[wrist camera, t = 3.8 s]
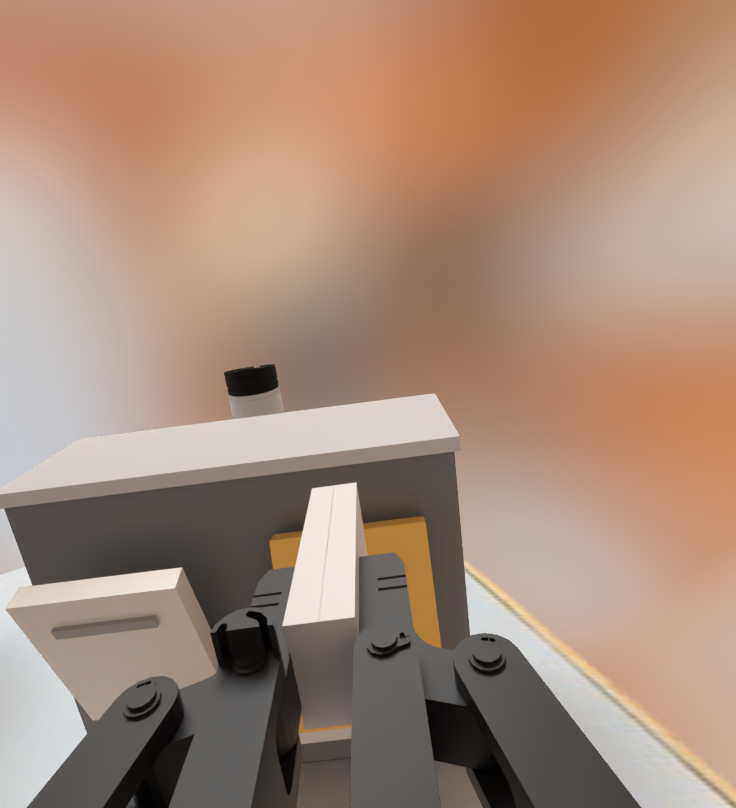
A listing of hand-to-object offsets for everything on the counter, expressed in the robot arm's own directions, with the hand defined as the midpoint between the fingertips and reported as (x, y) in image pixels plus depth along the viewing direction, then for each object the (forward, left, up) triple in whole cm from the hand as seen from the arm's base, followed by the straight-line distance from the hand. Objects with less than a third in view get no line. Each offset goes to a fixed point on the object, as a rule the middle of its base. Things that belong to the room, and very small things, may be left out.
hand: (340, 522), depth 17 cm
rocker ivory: (-5, +14, -15) cm, 21 cm away
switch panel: (+3, +14, -22) cm, 26 cm away
